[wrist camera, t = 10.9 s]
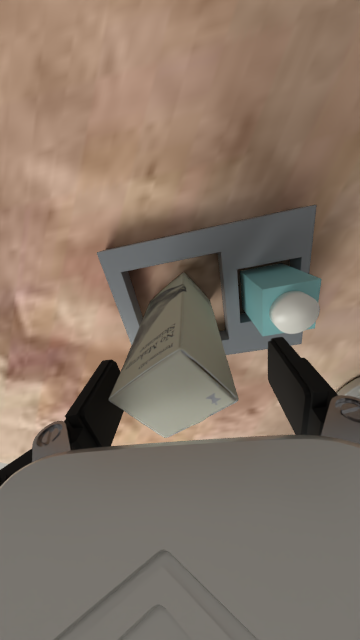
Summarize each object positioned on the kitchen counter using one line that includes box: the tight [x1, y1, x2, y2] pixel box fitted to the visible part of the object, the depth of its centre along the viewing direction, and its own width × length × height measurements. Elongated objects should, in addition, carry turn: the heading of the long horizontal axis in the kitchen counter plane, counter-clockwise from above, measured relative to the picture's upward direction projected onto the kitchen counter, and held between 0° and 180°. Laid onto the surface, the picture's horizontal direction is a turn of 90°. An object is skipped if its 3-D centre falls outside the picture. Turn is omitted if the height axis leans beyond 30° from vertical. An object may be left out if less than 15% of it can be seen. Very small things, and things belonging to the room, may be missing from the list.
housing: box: [97, 205, 316, 355], centre depth 19 cm, size 18×13×2 cm
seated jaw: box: [240, 263, 321, 336], centre depth 16 cm, size 4×4×7 cm
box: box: [109, 273, 238, 438], centre depth 15 cm, size 5×4×13 cm
